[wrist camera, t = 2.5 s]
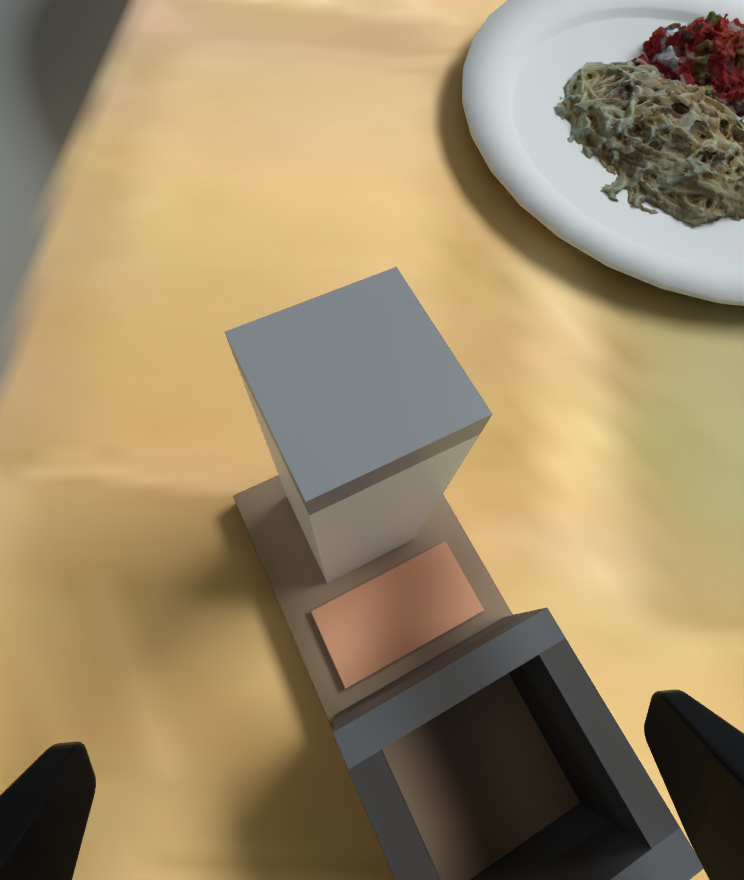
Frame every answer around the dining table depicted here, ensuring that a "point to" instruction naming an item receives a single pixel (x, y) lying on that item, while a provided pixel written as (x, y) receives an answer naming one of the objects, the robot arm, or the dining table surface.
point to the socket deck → (464, 714)
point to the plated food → (621, 131)
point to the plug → (359, 415)
